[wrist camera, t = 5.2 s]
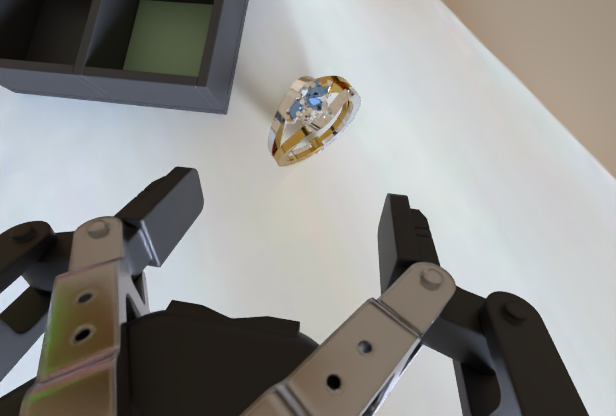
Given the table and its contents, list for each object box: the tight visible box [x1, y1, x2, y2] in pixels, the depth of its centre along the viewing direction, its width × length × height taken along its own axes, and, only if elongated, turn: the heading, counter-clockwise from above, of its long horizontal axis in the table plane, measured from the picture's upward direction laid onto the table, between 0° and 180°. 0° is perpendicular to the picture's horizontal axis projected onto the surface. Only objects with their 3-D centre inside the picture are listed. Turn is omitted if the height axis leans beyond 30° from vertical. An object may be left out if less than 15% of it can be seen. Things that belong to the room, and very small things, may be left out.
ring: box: [268, 76, 361, 166], centre depth 19 cm, size 7×3×8 cm, turn 122°
